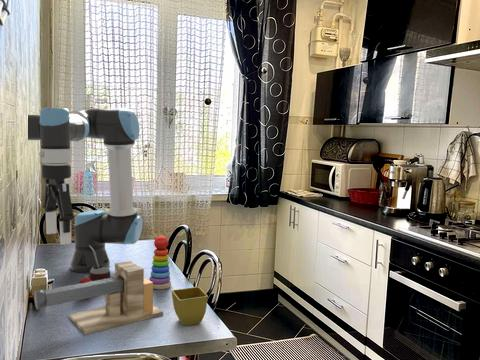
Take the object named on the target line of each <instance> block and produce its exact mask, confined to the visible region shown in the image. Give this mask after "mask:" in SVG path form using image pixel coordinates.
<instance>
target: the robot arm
mask: <svg viewBox="0 0 480 360" xmlns="http://www.w3.org/2000/svg"><path fill="white" fill-rule="evenodd" d="M27 115H28V140H27V141H40V150H41V151H39V153H38V155H39V156H41V163H42V165H41V178H42V179H45V187H44V188H45V189H44V197H43V205H42V207H43V209H44V211H45V227H46V229H45V230H46V235H52V234H57V231H58V229H57V212H58V213H59V217H60V218H59V217H58V222H59V243H60V246H62V245H63V246H64V245H69V244H70V245H71V244H72V220H74V225H73V226H74V252H73V255H72V259H71V262H70V269H71V271H73V272H76V273H82V274H83V273H84V274H86V273H87V274H90V270H91V269H92V267H94V266H97V263H96V260H95V256H94V254H93V251H92V249H91V248H90V247H89V245H90V246H91V247H92V248H93V249H94V251H95V252H96V257H97V261H98V265H105V266H107V267H108V268H109V269H110V266H111V265H110V262H111V261H110V258H109V255H108V253H107V249H106V244H113V245H114V244H115V245H134V244H136V243H137V242H138V241H139V239H140V238H141V237H140V236H141V233H142V230H143V223H144V222H143V216H141V215H138V209H137V208H136V207H134V199H133V198H134V197H133V193H134V192H133V173H132V172H133V171H132V170H133V169H132V147H134V145H135V144H136V143H135V141H137V140H139V137H140V124H139V120H138V116H137V115H136V113H135V112H134V110H132V109H129V108H98V107H94V108H88V109H80V110H72V111H70V110H69V109H68V108H65V107H64V108H63V107H43V108H41V109H40V112H39V114H27ZM85 138H89V139H97V140H98V139H99V140H103V145H104V146H105V147H106V148H107V150H108V151H107V152H108V153H107V154H108V155H107V156H108V157H107V158H108V174H109V191H110V197H109V198H110V208H109V209H108V211H107V214H106V211H105V210H103V209H95V210H89V211H84V212H80V213H77V214H76V215H75V216H74V211H73V206H72V199H71V195H70V194H71V193H70V184H69V183H65V180H66V179H69V178H71V177H72V168H71V167H72V166H71V165H70V164H69V163H71V162H72V158H71V157H72V156H71V155H72V154H71V153H72V152H71V151H72V150H71V149H72V148H71V142H79V141H82V140H84V139H85Z"/></svg>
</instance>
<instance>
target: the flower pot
mask: <svg viewBox="0 0 480 360" xmlns="http://www.w3.org/2000/svg"><path fill="white" fill-rule="evenodd" d="M171 297H172V305H173V309H174V312H175V314H176V316H177V318H178V321H179V322H180V323H181V324H182V326H183V327H184V326H192V325H197V324H198V325H199V324H200V323H201V322H202V320H203V319H204V317H205V314H206V312H207V307H208V306H207V305H208V298H209V296H208V294H207V293H206V292H205V291H204V290H203V289H202V288H201V287H199V286H194V287H187V288H178V289H172V290H171Z"/></svg>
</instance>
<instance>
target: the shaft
mask: <svg viewBox="0 0 480 360" xmlns="http://www.w3.org/2000/svg"><path fill="white" fill-rule="evenodd" d="M120 291H124V278H123V277H122V276H118V277H115V276H113V277H110V278H107V279H102V280H97V281H91V282H86V283H81V284H78V283H76V284H71V285H64V286H62V287H55V288H49V289H38V290H35V291H34V295H33V300H34V306H35V309H36V310H38V311H39V310H43V309H46V308H48V307H51V306H52V307H53V306H57V305H61V304H66V303H71V302H76V301H81V300H87V299H86V298H88V299H89V298H95V297H99V296H104V295H105V294H110V293H115V292H120Z"/></svg>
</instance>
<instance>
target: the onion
mask: <svg viewBox="0 0 480 360" xmlns="http://www.w3.org/2000/svg"><path fill="white" fill-rule="evenodd" d="M91 281H92V280H90V278H89V276H88V275H85V276H84V277H83V278H81V279H80V281H79V282H78V283H77V284H81V283H86V282H91ZM87 299H89V298H86V299H85V300H87Z"/></svg>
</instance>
